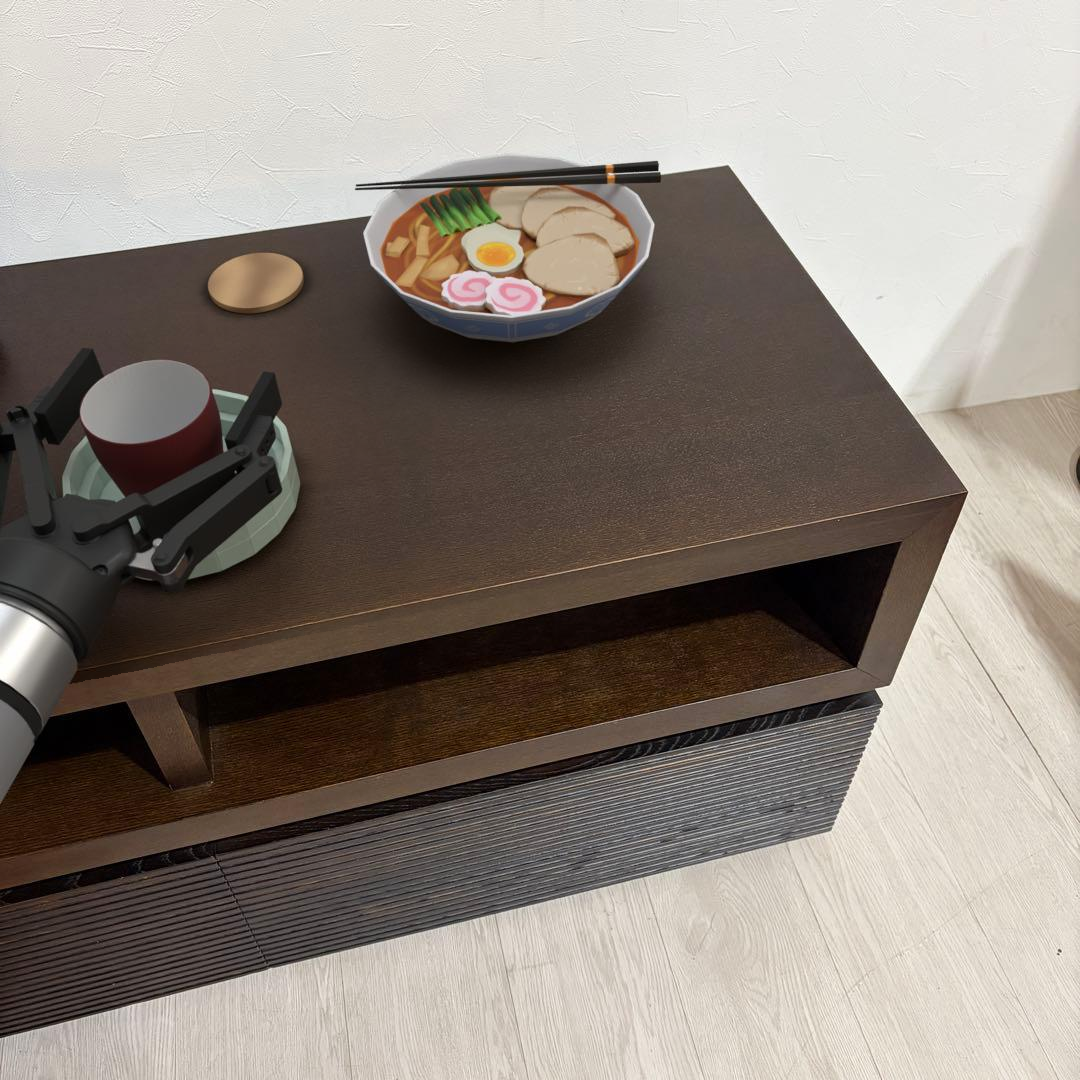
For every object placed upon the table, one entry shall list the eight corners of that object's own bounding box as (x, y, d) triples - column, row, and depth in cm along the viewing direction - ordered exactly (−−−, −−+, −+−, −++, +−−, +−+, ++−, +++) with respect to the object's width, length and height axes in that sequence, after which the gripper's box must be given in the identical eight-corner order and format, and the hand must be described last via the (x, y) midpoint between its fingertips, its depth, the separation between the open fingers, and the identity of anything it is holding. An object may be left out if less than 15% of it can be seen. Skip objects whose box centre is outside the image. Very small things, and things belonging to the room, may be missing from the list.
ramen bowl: (351, 401, 84) (334, 313, 78) (371, 232, 99) (359, 148, 93) (677, 390, 84) (687, 302, 78) (648, 224, 99) (653, 140, 93)
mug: (152, 444, 80) (111, 334, 72) (262, 445, 80) (232, 335, 72) (111, 553, 73) (60, 444, 65) (231, 555, 73) (194, 445, 65)
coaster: (215, 321, 90) (213, 316, 90) (203, 268, 96) (202, 262, 95) (311, 302, 92) (310, 296, 92) (295, 251, 97) (294, 245, 97)
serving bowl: (87, 610, 70) (66, 571, 67) (77, 457, 80) (58, 415, 77) (318, 553, 73) (308, 513, 70) (281, 412, 83) (271, 370, 80)
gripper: (-153, 639, 63) (35, 395, 77) (243, 709, 60) (365, 441, 74) (-222, 553, 58) (-6, 308, 72) (210, 626, 54) (349, 353, 68)
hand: (182, 375), depth 73 cm, fingers open, 12 cm apart
